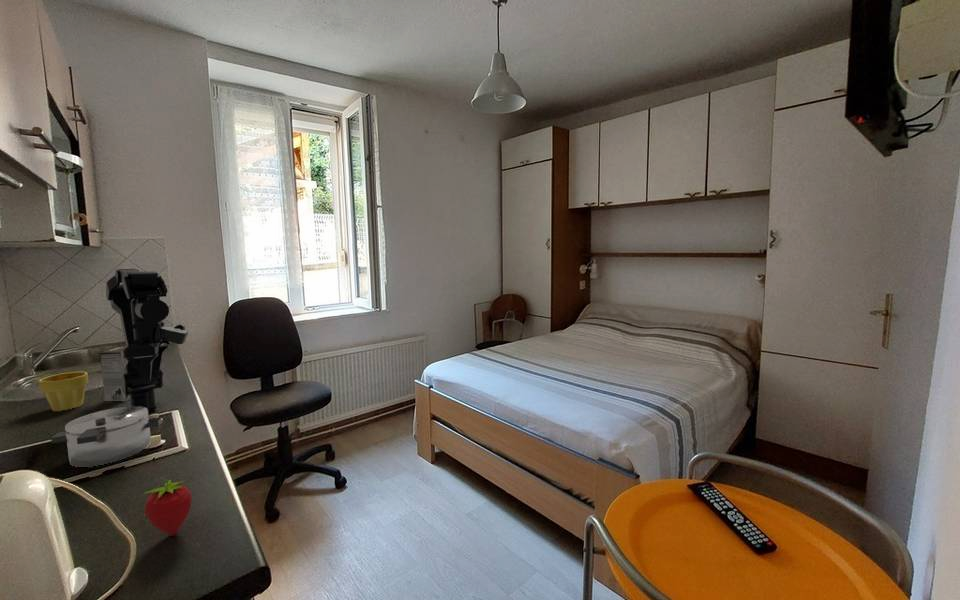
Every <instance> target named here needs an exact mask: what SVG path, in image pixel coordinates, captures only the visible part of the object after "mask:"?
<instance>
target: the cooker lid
mask: <svg viewBox="0 0 960 600" xmlns="http://www.w3.org/2000/svg"><path fill="white" fill-rule="evenodd" d="M147 416H149V412H148V409H147V408H145V407H140V406H131V405H129V406H123V407H122V406H121V407H114V408H109V409H104V410H99V411H95V412H92V413H89V414H85V415H83V416H80V417H77V418H75V419H72V420H70V421H69V422H68V423H66V424H65V425H64V430H65V431H64V432H66V433H67V434H70V435H80V436H79V437H78V438H77V444H83V443H89V442H95V441H98V440H99V439H100V438H101V437H102V436H103V435H104V434H105V433H106V432H107V431H111V430H115V429H119V428H123V427H126V426H129V425H132V424H134V423H137V422H139V421H141V420H143V419H144V418H146V417H147Z"/></svg>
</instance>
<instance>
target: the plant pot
mask: <svg viewBox="0 0 960 600" xmlns="http://www.w3.org/2000/svg"><path fill="white" fill-rule="evenodd" d="M88 384H89V375H88V372H86V371H71V372H64V373H62V372H61V373H58V374H57V373H56V374H52V375H49V376H48V375H47V376H45V377H42V378H41V379H39V380H38V387H39V391H40V392H41V393H44V396H45V398H46V400H47V402H48V404H49V406H50V409H51V410H52V412H63V411H62V410H65V411H69V410H68V409H70V410H73V409H72V408H74V409H77V408H79V407H81V406H82V404H84V401H85V394H86V393H85V392H86V386H87V385H88ZM76 407H77V408H76Z"/></svg>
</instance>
